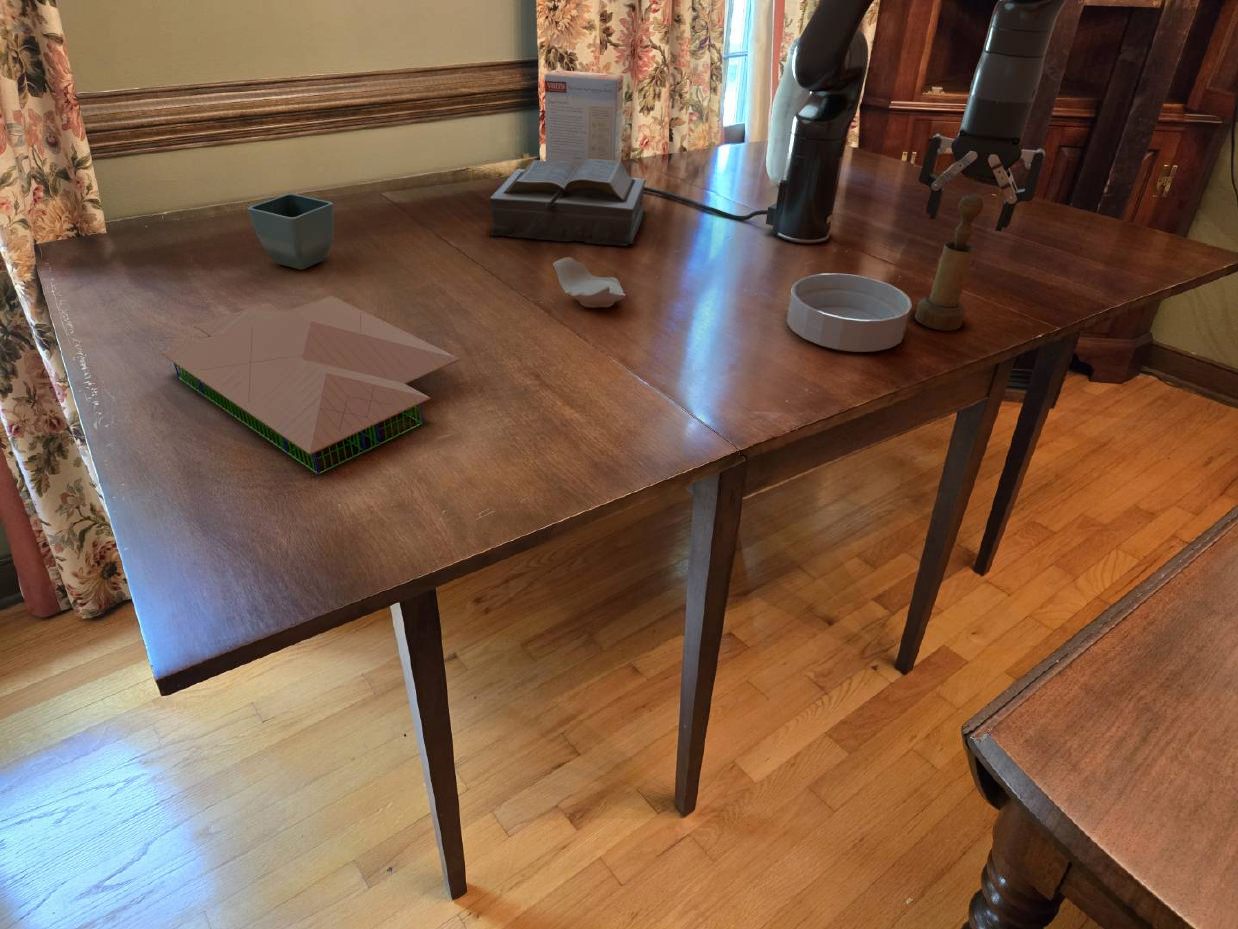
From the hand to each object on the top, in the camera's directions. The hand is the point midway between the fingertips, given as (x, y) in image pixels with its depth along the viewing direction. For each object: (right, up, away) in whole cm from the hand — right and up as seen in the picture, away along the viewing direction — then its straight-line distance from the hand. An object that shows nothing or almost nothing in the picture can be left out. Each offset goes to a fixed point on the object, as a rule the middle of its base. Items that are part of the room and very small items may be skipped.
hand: (965, 223), depth 110 cm
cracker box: (-54, +23, +55) cm, 80 cm away
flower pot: (-95, -1, +17) cm, 97 cm away
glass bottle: (-11, +26, +61) cm, 67 cm away
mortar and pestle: (0, -12, +8) cm, 14 cm away
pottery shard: (-50, -9, +9) cm, 52 cm away
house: (-82, -23, -13) cm, 86 cm away
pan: (-15, -13, +5) cm, 21 cm away
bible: (-55, +10, +37) cm, 67 cm away
